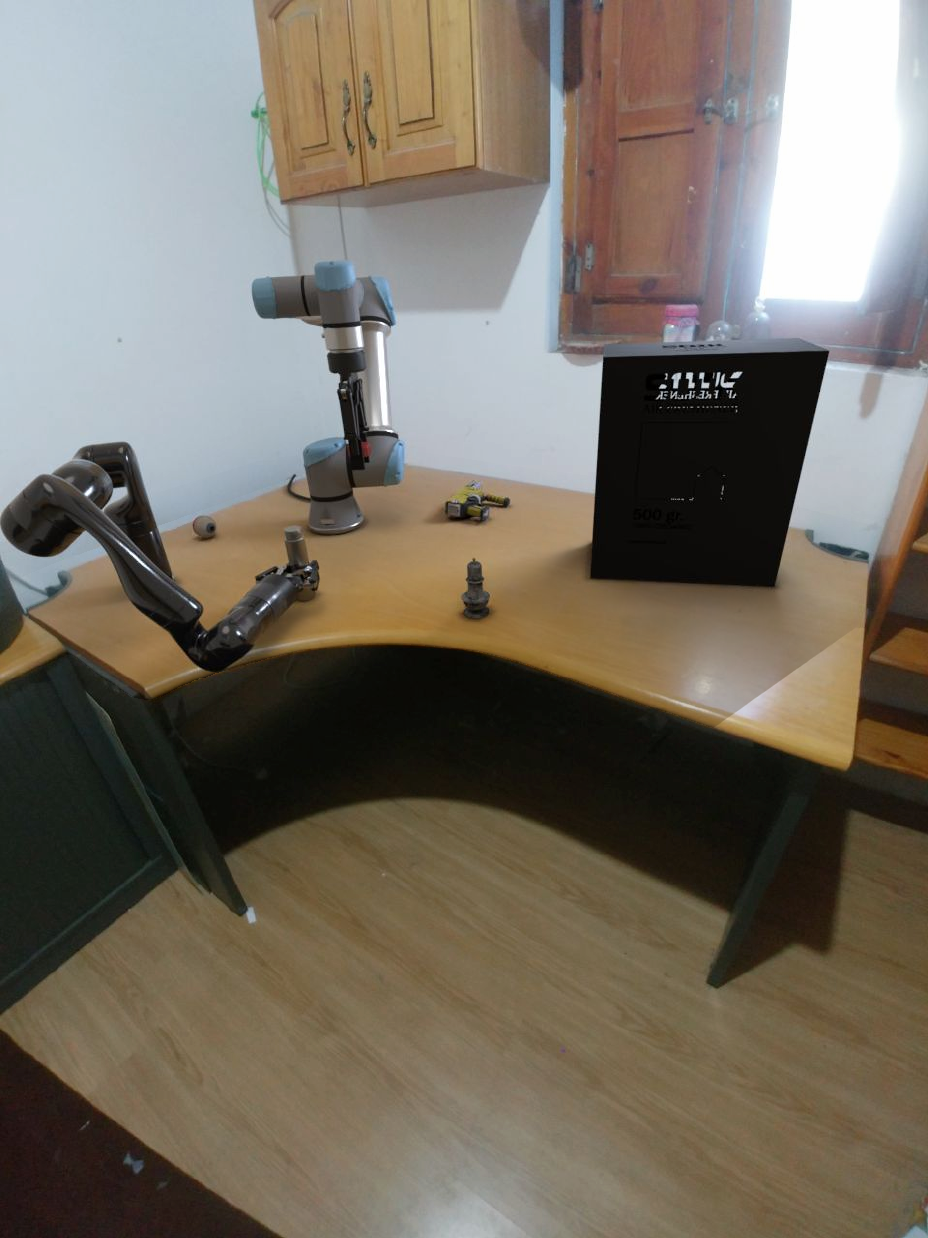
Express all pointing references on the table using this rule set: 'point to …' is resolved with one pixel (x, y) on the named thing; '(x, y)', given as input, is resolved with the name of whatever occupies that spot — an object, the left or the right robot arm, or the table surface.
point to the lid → (364, 449)
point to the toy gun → (472, 502)
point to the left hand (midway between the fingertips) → (305, 563)
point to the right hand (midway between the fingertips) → (361, 465)
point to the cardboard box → (701, 458)
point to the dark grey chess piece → (475, 592)
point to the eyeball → (204, 526)
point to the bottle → (297, 556)
